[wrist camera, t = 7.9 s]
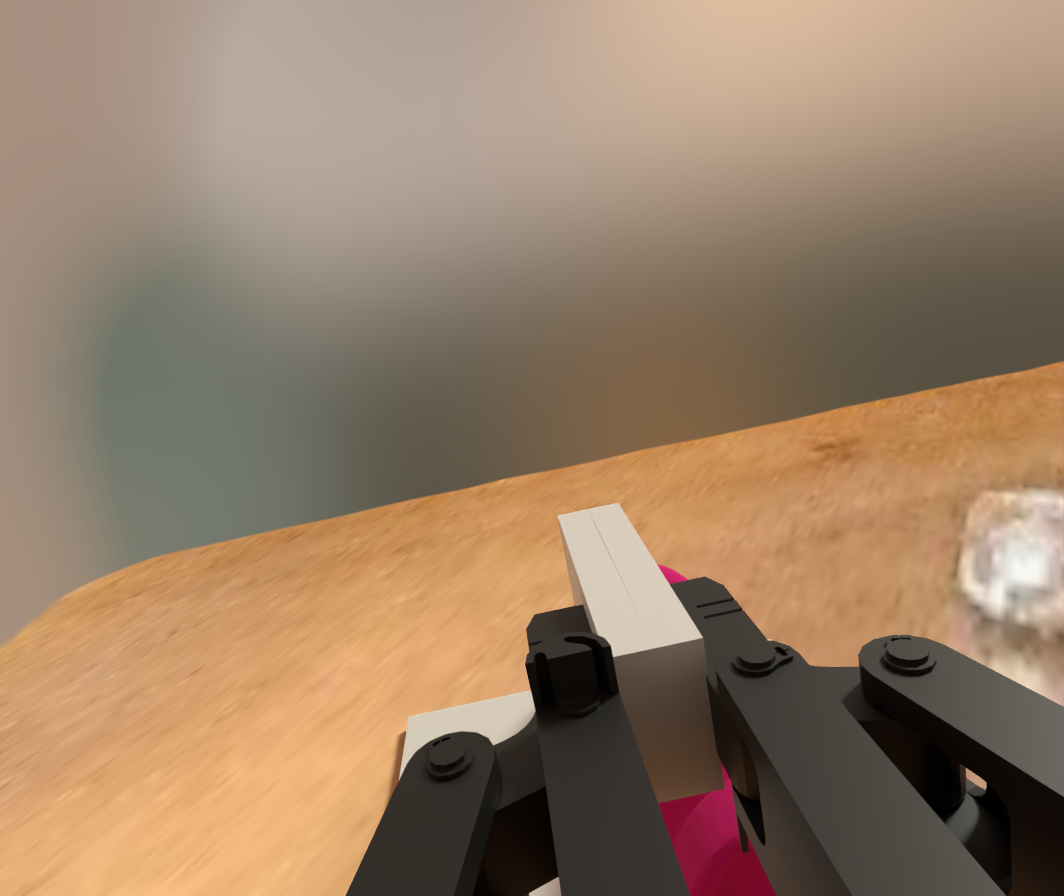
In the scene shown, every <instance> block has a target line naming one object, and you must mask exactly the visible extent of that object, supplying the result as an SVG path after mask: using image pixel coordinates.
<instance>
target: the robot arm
mask: <svg viewBox="0 0 1064 896" xmlns="http://www.w3.org/2000/svg"><path fill="white" fill-rule="evenodd" d="M557 516H558V521H559V527H560V532H561V537H562V542H563V547H564V552H565V558H566V563H567V568H568V573H569V578H570V584H571V589H572V594H573V599H574V604H575V606H573V607H568V608H563V609H559V610H554V611H549V612H545V613H540V614H535V615H534V617H533V618H532V620H531V622H530V624H529V625H528V627H527V629H526V631H527V638H528V645H529V653H528V654H527V658H526V663H525V665H526V670H527V675H528V679H529V684H530V688H531V693H532V698H533V702H534V707H535V713H534V716H533V718H532V719H531V720H530V722H529V723H528V724H527V725H526V726H525V727H524V728H523V729H522V730H520V731H519V732H518V733H517V734H515V735H513V736H512V737H510V738H508V739H506V740H504V741H502V742H500V743H498V744H496V745H493V744H492V743H491V741H490V740H489V738H488V737H485V736H483V735H481V734H479V733H477V732H466V731H460V732H454V733H449V734H444V735H442V736H440V737H437V738H435V739H433V740H431V741H429V742H428V743H426V744H425V745H424V746H422V747H421V748H420V749H418V750H417V751H416V752H415V753H414V755H413V756H412V757H411V759H410V760H409V761H408V763H407V765H406V767H405V769H404V771H403V773H402V775H401V777H400V780H399V782H398V784H397V786H396V788H395V790H394V793H393V795H392V797H391V799H390V801H389V803H388V806H387V808H386V810H385V812H384V814H383V816H382V818H381V821H380V823H379V825H378V827H377V829H376V831H375V834H374V836H373V838H372V840H371V842H370V844H369V847H368V849H367V851H366V853H365V855H364V857H363V859H362V862H361V864H360V866H359V868H358V870H357V872H356V875H355V877H354V879H353V881H352V883H351V885H350V888H349V890H348V892H347V894H346V896H529V893H530V892H532V891H534V890H536V889H538V888H539V887H541V886H543V885H545V884H547V883H548V882H550V881H552V880H554V879H556V878H557V877H559V883H560V890H561V896H690V893H689V890H688V888H687V885H686V882H685V879H684V876H683V873H682V870H681V868H680V865H679V862H678V859H677V856H676V853H675V850H674V848H673V845H672V842H671V839H670V836H669V833H668V830H667V827H666V825H665V822H664V819H663V816H662V813H661V810H660V807H659V805H658V803H662V802H666V801H671V800H675V799H680V798H685V797H689V796H694V795H698V794H703V793H707V792H712V791H716V790H721V789H725V786H724V779H723V772H722V765H721V762H722V764H723V766H724V768H725V770H726V772H727V774H728V776H729V778H730V780H731V784H732V791H733V798H734V805H735V812H736V819H737V826H738V833H739V840H740V845H741V850H742V853H745V852H749V847H748V838H749V840H750V842H751V844H752V846H753V848H754V850H755V852H756V854H757V856H758V858H759V860H760V862H761V865H762V867H763V869H764V871H765V873H766V875H767V877H768V879H769V881H770V883H771V885H772V887H773V889H774V891H775V894H776V896H1064V707H1063V706H1061V705H1059V704H1057V703H1055V702H1053V701H1051V700H1049V699H1048V698H1046V697H1044V696H1042V695H1040V694H1038V693H1036V692H1034V691H1032V690H1030V689H1028V688H1026V687H1024V686H1022V685H1021V684H1019V683H1017V682H1015V681H1013V680H1011V679H1009V678H1007V677H1005V676H1003V675H1001V674H999V673H997V672H995V671H994V670H992V669H990V668H988V667H986V666H984V665H982V664H980V663H978V662H976V661H974V660H972V659H970V658H968V657H967V656H965V655H963V654H961V653H959V652H957V651H955V650H953V649H951V648H949V647H947V646H945V645H943V644H941V643H938V642H935V641H933V640H930V639H927V638H921V637H915V636H911V635H900V636H898V635H892V636H886V637H882V638H878V639H874V640H872V641H871V642H869V643H867V644H866V645H864V646H863V647H862V649H861V651H860V653H859V655H858V656H859V667H817V666H811V665H809V664H808V663H807V662H806V661H805V660H804V659H803V657H802V656H801V655H800V654H799V653H798V652H796V651H795V650H794V649H792V648H791V647H790V646H788V645H785V644H782V643H779V642H776V641H769V640H767V639H766V638H765V636H764V635H763V634H762V633H761V631H760V630H759V629H758V628H757V626H756V625H755V624H754V623H753V621H752V620H751V619H750V618H749V616H748V615H747V614H746V613H745V611H742V608H741V606H740V605H739V604H738V603H737V601H736V600H735V601H734V598H733V597H732V595H731V594H730V593H729V592H728V590H727V589H726V588H725V587H724V585H722V584H719V583H717V582H715V581H713V580H711V579H709V578H707V577H701V578H696V579H691V580H687V581H682V582H677V583H672V584H669V583H668V581H667V580H666V578H665V577H664V575H663V573H662V572H661V570H660V569H659V567H658V565H657V564H656V562H655V561H654V559H653V558H652V556H651V554H650V553H649V551H648V550H647V548H646V546H645V545H644V543H643V542H642V540H641V538H640V537H639V535H638V534H637V532H636V531H635V529H634V527H633V526H632V524H631V523H630V521H629V519H628V518H627V516H626V515H625V513H624V511H623V510H622V508H621V507H620V505H619V504H618V503H615V504H610V505H605V506H601V507H596V508H591V509H586V510H581V511H576V512H572V513H567V514H562V515H557ZM966 768H967V769H969V770H970V771H972V772H973V773H975V774H976V775H978V776H979V777H981V778H982V779H983V780H984V781H986V782H987V788H986V790H984V789H982V788H980V787H979V786H977V785H975V784H974V783H973V782H971V781H970V780H968V779H967V778H966Z"/></svg>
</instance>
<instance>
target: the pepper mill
mask: <svg viewBox="0 0 1064 896" xmlns="http://www.w3.org/2000/svg"><path fill="white" fill-rule="evenodd" d="M657 565H658V564H657ZM658 567H659V569H660V570H661V572H662V573H663V575H664V577H665V578H666V580H667V581H668V583H669V584H672V583H677V582H682V581H687V579H686V578H685V577H684V576H682V575H680V574H679V573H677V572H676V571H674V570H672V569H670V568H667V567H665V566H662V565H658ZM721 765H722V772H723V779H724V786H725V789H721V790H716V791H712V792H707V793H703V794H698V795H694V796H689V797H685V798H680V799H675V800H671V801H666V802H662V803H658V805H659V807H660V810H661V813H662V816H663V819H664V822H665V825H666V827H667V830H668V833H669V836H670V839H671V842H672V845H673V848H674V850H675V853H676V856H677V859H678V862H679V865H680V868H681V870H682V873H683V876H684V879H685V882H686V885H687V888H688V890H689V893H690V896H776V894H775V891H774V889H773V887H772V885H771V883H770V881H769V879H768V877H767V875H766V873H765V871H764V869H763V867H762V865H761V862H760V860H759V858H758V856H757V854H756V852H755V850H754V848H753V846H752V844H751V842H750V840H749V838H748V847H749V852H745V853H742V850H741V845H740V840H739V833H738V826H737V819H736V812H735V805H734V798H733V791H732V784H731V780H730V778H729V776H728V774H727V772H726V770H725V768H724V766H723V764H722V762H721Z"/></svg>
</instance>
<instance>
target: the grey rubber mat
mask: <svg viewBox="0 0 1064 896" xmlns="http://www.w3.org/2000/svg"><path fill="white" fill-rule="evenodd" d="M767 640H769V641H772V640H771V639H767ZM534 713H535V707H534V702H533V698H532V693H531V690H530V691H525V692H520V693H516V694H511V695H506V696H502V697H497V698H492V699H488V700H483V701H478V702H474V703H469V704H464V705H460V706H455V707H451V708H446V709H441V710H437V711H432V712H427V713H423V714H418V715H413V716H409V718H408V725H407V731H406V738H405V744H404V750H403V757H402V763H401V770H400V776H399V780H400V777H401V775H402V773H403V771H404V769H405V767H406V765H407V763H408V761H409V760H410V759H411V757H412V756H413V755H414V753H415V752H416V751H417V750H418V749H420V748H421V747H422V746H424V745H425V744H426V743H428V742H429V741H431V740H433V739H435V738H437V737H440V736H442V735H444V734H449V733H454V732H460V731H466V732H477V733H479V734H481V735H483V736H485V737H488V738H489V740H490V741H491V743H492V744H493V745H496V744H498V743H500V742H502V741H504V740H506V739H508V738H510V737H512V736H513V735H515V734H517V733H518V732H519V731H520V730H522V729H523V728H524V727H525V726H526V725H527V724H528V723H529V722H530V720H531V719H532V718H533V716H534ZM529 896H561V890H560V883H559V877H557V878H556V879H554V880H552V881H550V882H548V883H547V884H545V885H543V886H541V887H539V888H538V889H536V890H534V891H532V892H530V893H529Z"/></svg>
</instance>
